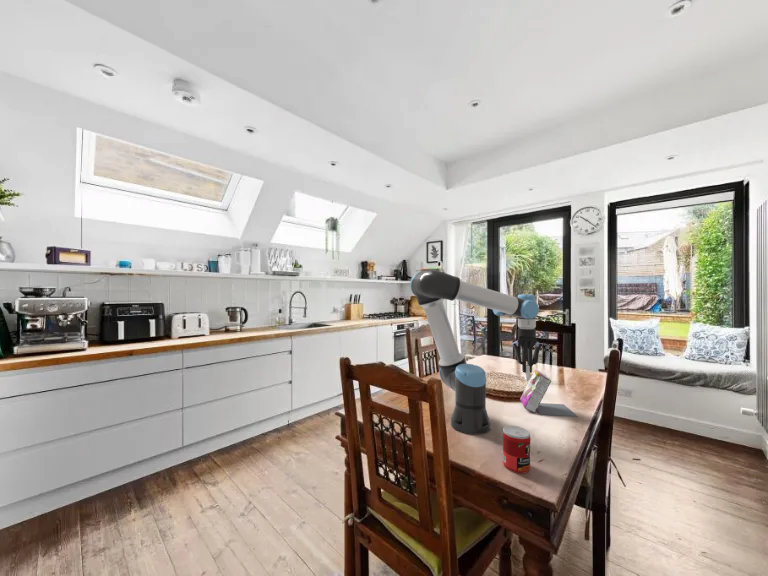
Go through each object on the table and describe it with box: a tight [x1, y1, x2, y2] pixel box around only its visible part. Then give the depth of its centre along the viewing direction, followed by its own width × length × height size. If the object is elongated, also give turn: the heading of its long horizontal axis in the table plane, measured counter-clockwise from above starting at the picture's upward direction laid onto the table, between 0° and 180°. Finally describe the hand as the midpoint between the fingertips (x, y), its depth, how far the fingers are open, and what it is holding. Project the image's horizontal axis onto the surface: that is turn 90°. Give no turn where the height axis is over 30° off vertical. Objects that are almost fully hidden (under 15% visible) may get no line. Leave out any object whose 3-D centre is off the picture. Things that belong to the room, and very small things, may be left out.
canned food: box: [502, 425, 531, 474], centre depth 99 cm, size 8×8×11 cm
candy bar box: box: [519, 369, 552, 414], centre depth 146 cm, size 11×5×16 cm, turn 169°
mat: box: [536, 402, 579, 418], centre depth 146 cm, size 15×14×1 cm
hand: (527, 379), depth 147 cm, fingers closed
